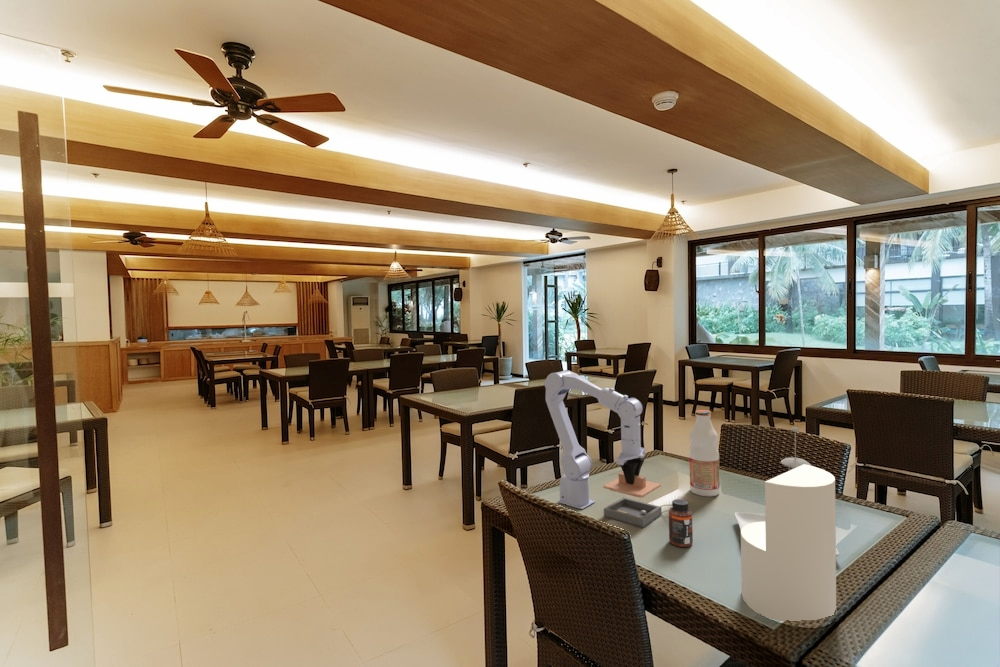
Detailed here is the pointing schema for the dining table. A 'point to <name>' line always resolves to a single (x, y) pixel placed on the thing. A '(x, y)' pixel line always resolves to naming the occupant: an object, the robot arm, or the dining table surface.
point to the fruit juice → (704, 456)
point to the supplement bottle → (680, 524)
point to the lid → (632, 486)
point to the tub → (632, 512)
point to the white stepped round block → (792, 548)
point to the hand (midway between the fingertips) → (631, 482)
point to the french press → (794, 461)
